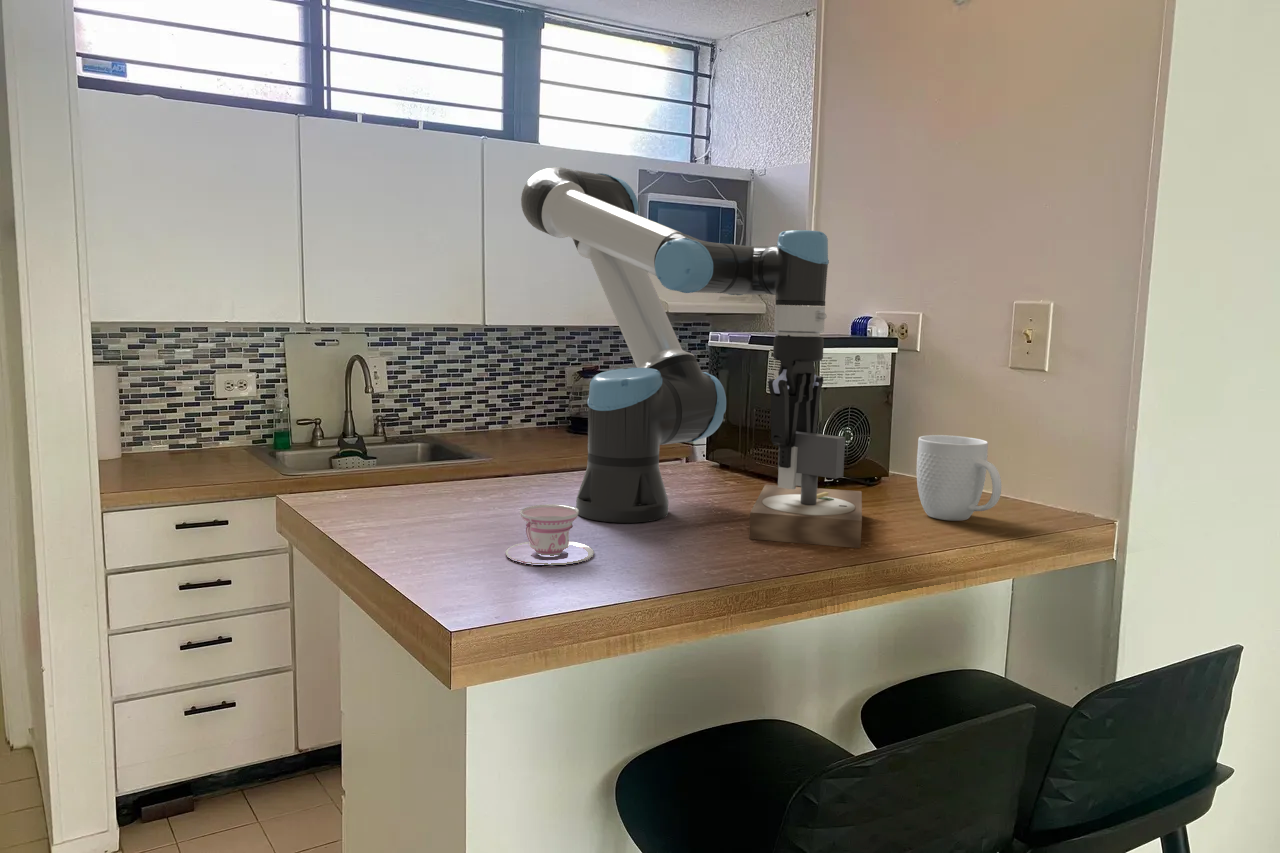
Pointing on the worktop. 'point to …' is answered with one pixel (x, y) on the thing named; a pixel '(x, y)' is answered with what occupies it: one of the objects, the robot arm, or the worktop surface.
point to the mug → (954, 476)
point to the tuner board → (807, 517)
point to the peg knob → (817, 462)
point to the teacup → (550, 530)
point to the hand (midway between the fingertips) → (791, 486)
